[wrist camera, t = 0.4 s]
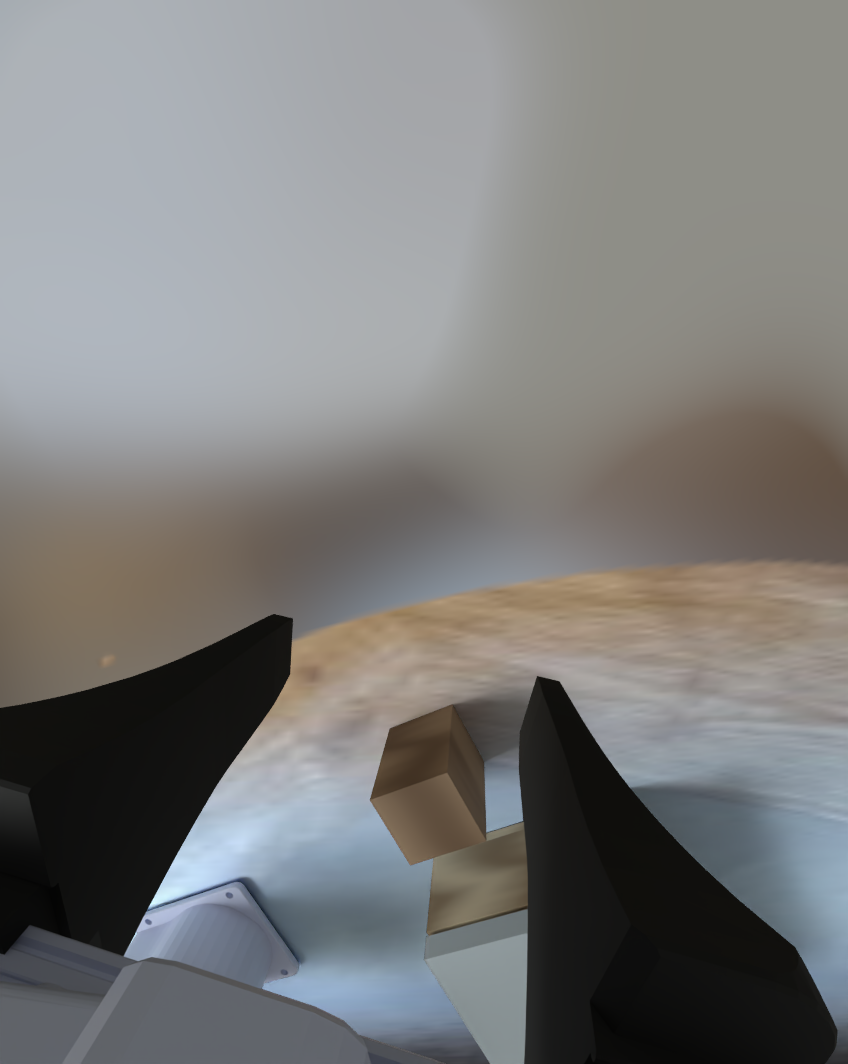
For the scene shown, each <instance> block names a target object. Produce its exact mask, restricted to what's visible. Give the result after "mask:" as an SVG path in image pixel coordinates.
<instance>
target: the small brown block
mask: <svg viewBox="0 0 848 1064" xmlns="http://www.w3.org/2000/svg"><path fill="white" fill-rule="evenodd" d="M370 801H371V803H372V804H373V806H374V807H375V809H376V811H377V812H378V814H379V816H380V817H381V819H382V820H383V822H384V824H385V825H386V827H387V829H388V830H389V832H390V833H391V835H392V837H393V838H394V840H395V841H396V843H397V845H398V846H399V848H400V850H401V851H402V853H403V854H404V856H405V858H406V859H407V861H408V863H409V864H410V865H413V864H416V863H419V862H422V861H426V860H429V859H432V858H435V857H438V856H441V855H445V854H448V853H451V852H454V851H457V850H461V849H464V848H467V847H470V846H473V845H476V844H480V843H483V842H486V809H485V778H484V761H483V759H482V757H481V755H480V754H479V752H478V750H477V748H476V746H475V744H474V743H473V741H472V739H471V737H470V735H469V734H468V732H467V730H466V728H465V726H464V725H463V723H462V721H461V719H460V717H459V716H458V714H457V712H456V710H455V708H454V707H453V705H449V706H447V707H444V708H442V709H439V710H437V711H434V712H431V713H429V714H426V715H424V716H421V717H419V718H416V719H413V720H411V721H408V722H406V723H403V724H401V725H398V726H396V727H393V728H390V730H389V733H388V737H387V740H386V744H385V748H384V751H383V755H382V758H381V762H380V766H379V769H378V773H377V776H376V780H375V784H374V787H373V791H372V795H371V798H370Z"/></svg>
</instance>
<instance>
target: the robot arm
mask: <svg viewBox="0 0 848 1064" xmlns="http://www.w3.org/2000/svg"><path fill="white" fill-rule="evenodd" d="M292 627H293V619H292V618H288V617H284V616H280V615H276V614H273V615H270V616H268V617H266V618H264V619H262V620H260V621H258V622H256V623H254V624H252V625H250V626H248V627H246V628H244V629H242V630H240V631H238V632H236V633H234V634H232V635H230V636H228V637H226V638H224V639H222V640H220V641H218V642H216V643H214V644H212V645H210V646H208V647H205V648H203V649H201V650H199V651H196V652H194V653H192V654H190V655H187V656H185V657H183V658H181V659H178V660H176V661H174V662H171V663H168V664H166V665H163V666H161V667H158V668H155V669H153V670H150V671H147V672H144V673H141V674H138V675H136V676H133V677H130V678H126V679H123V680H119V681H116V682H113V683H109V684H106V685H102V686H99V687H96V688H92V689H89V690H85V691H81V692H77V693H73V694H69V695H65V696H60V697H56V698H51V699H46V700H42V701H37V702H32V703H27V704H22V705H16V706H10V707H4V708H0V1064H445V1063H442V1062H439V1061H436V1060H433V1059H430V1058H427V1057H424V1056H421V1055H418V1054H415V1053H412V1052H409V1051H406V1050H403V1049H400V1048H397V1047H394V1046H391V1045H388V1044H385V1043H382V1042H379V1041H376V1040H373V1039H370V1038H367V1037H364V1036H361V1035H358V1034H357V1033H356V1032H355V1031H354V1030H353V1029H352V1028H351V1027H350V1026H349V1025H348V1024H347V1023H346V1022H345V1021H344V1020H342V1019H340V1018H337V1017H335V1016H333V1015H331V1014H329V1013H327V1012H325V1011H323V1010H321V1009H319V1008H317V1007H315V1006H312V1005H309V1004H306V1003H303V1002H300V1001H297V1000H294V999H291V998H288V997H284V996H281V995H278V994H275V993H272V992H269V991H266V990H263V989H262V987H263V985H264V983H267V982H271V981H275V980H278V979H282V978H286V977H290V976H293V975H295V974H297V972H298V969H299V963H298V962H297V960H296V959H295V957H294V956H293V954H292V953H291V952H290V950H289V949H288V947H287V946H286V944H285V943H284V942H283V940H282V939H281V937H280V936H279V934H278V933H277V932H276V930H275V929H274V927H273V926H272V924H271V923H270V922H269V920H268V919H267V917H266V916H265V915H264V913H263V912H262V910H261V909H260V907H259V906H258V905H257V903H256V902H255V900H254V899H253V897H252V896H251V895H250V893H249V892H248V890H247V889H246V887H245V886H244V885H243V884H242V883H240V882H234V883H231V884H228V885H225V886H222V887H219V888H216V889H213V890H210V891H207V892H204V893H201V894H198V895H195V896H192V897H189V898H186V899H183V900H180V901H177V902H174V903H171V904H168V905H165V906H162V907H159V908H156V909H153V910H150V911H147V909H148V907H149V905H150V904H151V902H152V900H153V898H154V896H155V894H156V892H157V890H158V889H159V887H160V885H161V883H162V881H163V879H164V877H165V875H166V873H167V872H168V870H169V868H170V866H171V864H172V862H173V860H174V859H175V857H176V855H177V853H178V851H179V850H180V848H181V846H182V844H183V843H184V841H185V839H186V837H187V835H188V834H189V832H190V830H191V828H192V827H193V825H194V823H195V821H196V820H197V818H198V816H199V814H200V813H201V811H202V809H203V808H204V806H205V804H206V803H207V801H208V799H209V797H210V796H211V794H212V792H213V791H214V789H215V787H216V786H217V784H218V783H219V781H220V780H221V778H222V777H223V775H224V774H225V772H226V771H227V769H228V768H229V766H230V765H231V764H232V762H233V761H234V760H235V758H236V757H237V755H238V754H239V753H240V751H241V750H242V748H243V747H244V746H245V744H246V743H247V742H248V740H249V739H250V737H251V736H252V735H253V733H254V732H255V730H256V729H257V728H258V726H259V725H260V723H261V722H262V721H263V719H264V718H265V716H266V715H267V714H268V712H269V711H270V709H271V708H272V706H273V705H274V703H275V701H276V700H277V698H278V696H279V694H280V693H281V691H282V689H283V687H284V685H285V683H286V681H287V679H288V677H289V675H290V665H291V646H292ZM519 775H520V787H521V799H522V810H523V821H524V832H525V843H526V854H527V872H528V933H527V991H526V1029H525V1055H524V1064H825V1063H826V1062H827V1060H828V1059H829V1057H830V1056H831V1054H832V1053H833V1051H834V1050H835V1047H836V1043H837V1028H836V1026H835V1024H834V1021H833V1019H832V1017H831V1015H830V1013H829V1011H828V1009H827V1007H826V1005H825V1003H824V1001H823V999H822V997H821V995H820V993H819V991H818V989H817V987H816V985H815V983H814V981H813V979H812V977H811V975H810V973H809V971H808V969H807V968H806V966H805V964H804V962H803V960H802V958H801V957H800V955H799V953H798V951H797V950H796V948H795V947H794V946H793V945H792V944H790V943H789V942H788V941H787V940H786V939H784V938H783V937H782V936H781V935H780V934H778V933H777V932H776V931H775V930H774V929H773V928H771V927H770V926H769V925H768V924H767V923H765V922H764V921H763V920H762V919H761V918H759V917H758V916H757V915H756V914H755V913H753V912H752V911H751V910H750V909H749V908H747V907H746V906H745V905H744V904H743V903H741V902H740V901H739V900H738V899H737V898H736V897H735V896H734V895H732V894H731V893H730V892H729V891H728V890H727V889H726V888H725V887H724V886H723V885H722V884H721V883H719V882H718V881H717V880H716V879H715V878H714V877H713V876H712V875H711V874H710V873H709V872H708V871H706V870H705V869H704V868H703V867H702V866H701V865H700V864H699V863H698V862H697V861H696V860H695V859H694V858H693V857H692V856H691V855H690V854H689V853H688V852H687V851H686V850H685V849H684V848H683V847H682V846H681V845H680V844H679V843H678V842H677V841H676V839H675V838H674V837H673V836H672V835H671V834H670V833H669V832H668V831H667V830H666V829H665V828H664V827H663V826H662V825H661V824H660V823H659V821H658V820H657V819H656V818H655V817H654V816H653V815H652V814H651V812H650V811H649V810H648V809H647V808H646V807H645V805H644V804H643V803H642V802H641V801H640V799H639V798H638V797H637V796H636V795H635V793H634V792H633V791H632V790H631V789H630V787H629V786H628V785H627V784H626V782H625V781H624V780H623V779H622V777H621V776H620V775H619V773H618V772H617V771H616V769H615V768H614V766H613V765H612V764H611V762H610V761H609V760H608V758H607V757H606V755H605V754H604V753H603V751H602V750H601V748H600V747H599V745H598V744H597V742H596V740H595V739H594V737H593V736H592V734H591V733H590V731H589V730H588V728H587V727H586V725H585V723H584V722H583V720H582V718H581V717H580V715H579V714H578V712H577V710H576V709H575V707H574V705H573V703H572V702H571V700H570V698H569V697H568V695H567V693H566V692H565V690H564V688H563V687H562V685H561V683H560V682H559V681H556V680H551V679H547V678H543V677H539V676H537V678H536V682H535V685H534V688H533V691H532V695H531V698H530V701H529V704H528V708H527V711H526V714H525V717H524V721H523V724H522V727H521V730H520V746H519ZM146 911H147V912H146ZM136 932H137V935H136V936H135V938H134V939H133V937H134V935H135V933H136ZM132 939H133V941H132ZM131 941H132V942H131ZM130 943H131V944H130Z"/></svg>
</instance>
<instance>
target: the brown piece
mask: <svg viewBox="0 0 848 1064" xmlns="http://www.w3.org/2000/svg"><path fill="white" fill-rule="evenodd" d="M526 909H528V872H527V854H526V843H525V832H524V822H521V823H518V824H514V825H511V826H508V827H505V828H502V829H499V830H495V831H492V832H489V833H486V842H483V843H480V844H476V845H473V846H470V847H467V848H464V849H461V850H457V851H454V852H451V853H448V854H445V855H441V856H438V857H435V858H433V869H432V880H431V890H430V901H429V912H428V922H427V934H428V935H429V936H430V935H434V934H438V933H441V932H445V931H449V930H452V929H456V928H460V927H463V926H467V925H471V924H474V923H478V922H482V921H485V920H489V919H493V918H496V917H500V916H504V915H507V914H511V913H515V912H518V911H522V910H526Z"/></svg>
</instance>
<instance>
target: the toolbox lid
mask: <svg viewBox="0 0 848 1064" xmlns="http://www.w3.org/2000/svg"><path fill="white" fill-rule="evenodd" d="M527 933H528V909H526V910H522V911H518V912H515V913H511V914H507V915H504V916H500V917H496V918H493V919H489V920H485V921H482V922H478V923H474V924H471V925H467V926H463V927H460V928H456V929H452V930H449V931H445V932H441V933H438V934H434V935H430V936H427V937H426V944H425V954H424V961H425V962H426V964H427V965H428V967H429V969H430V970H431V972H432V973H433V975H434V976H435V978H436V979H437V981H438V983H439V984H440V986H441V987H442V989H443V990H444V992H445V994H446V995H447V997H448V998H449V1000H450V1001H451V1003H452V1005H453V1006H454V1008H455V1009H456V1011H457V1012H458V1014H459V1015H460V1017H461V1019H462V1020H463V1022H464V1023H465V1025H466V1026H467V1028H468V1030H469V1031H470V1033H471V1034H472V1036H473V1037H474V1039H475V1041H476V1042H477V1044H478V1045H479V1047H480V1048H481V1050H482V1051H483V1053H484V1055H485V1056H486V1058H487V1059H488V1061H489V1062H490V1064H524V1055H525V1029H526V991H527Z"/></svg>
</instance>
